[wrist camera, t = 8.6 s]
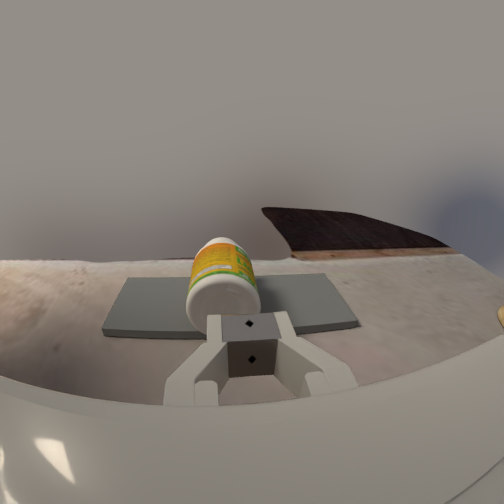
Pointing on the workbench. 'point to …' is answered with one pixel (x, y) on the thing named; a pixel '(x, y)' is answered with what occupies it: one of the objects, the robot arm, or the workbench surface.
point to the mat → (179, 327)
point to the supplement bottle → (221, 283)
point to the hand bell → (501, 315)
